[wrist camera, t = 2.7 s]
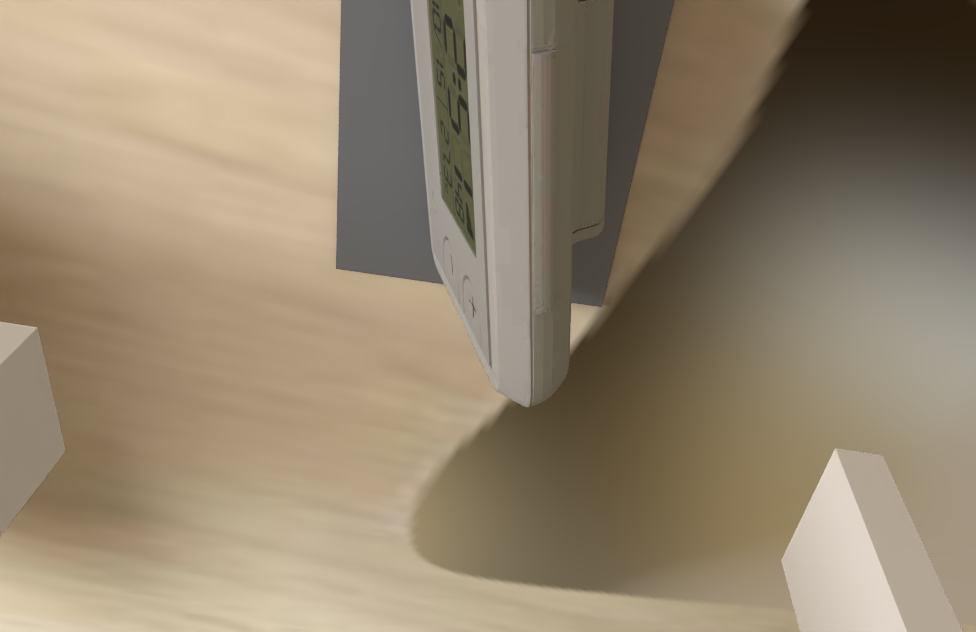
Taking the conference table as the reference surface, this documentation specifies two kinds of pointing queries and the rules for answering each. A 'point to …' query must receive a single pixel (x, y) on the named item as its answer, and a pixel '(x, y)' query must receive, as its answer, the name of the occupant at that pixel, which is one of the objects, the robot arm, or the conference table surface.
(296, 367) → the conference table surface
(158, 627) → the conference table surface
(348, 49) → the gray plate
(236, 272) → the conference table surface
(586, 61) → the digital clock
